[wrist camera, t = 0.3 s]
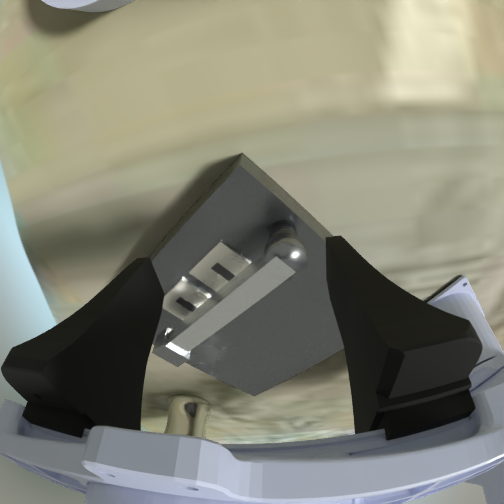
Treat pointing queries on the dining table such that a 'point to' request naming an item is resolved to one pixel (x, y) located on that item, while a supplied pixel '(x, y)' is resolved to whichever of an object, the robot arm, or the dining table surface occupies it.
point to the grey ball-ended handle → (235, 297)
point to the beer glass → (187, 416)
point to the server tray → (234, 261)
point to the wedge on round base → (88, 4)
